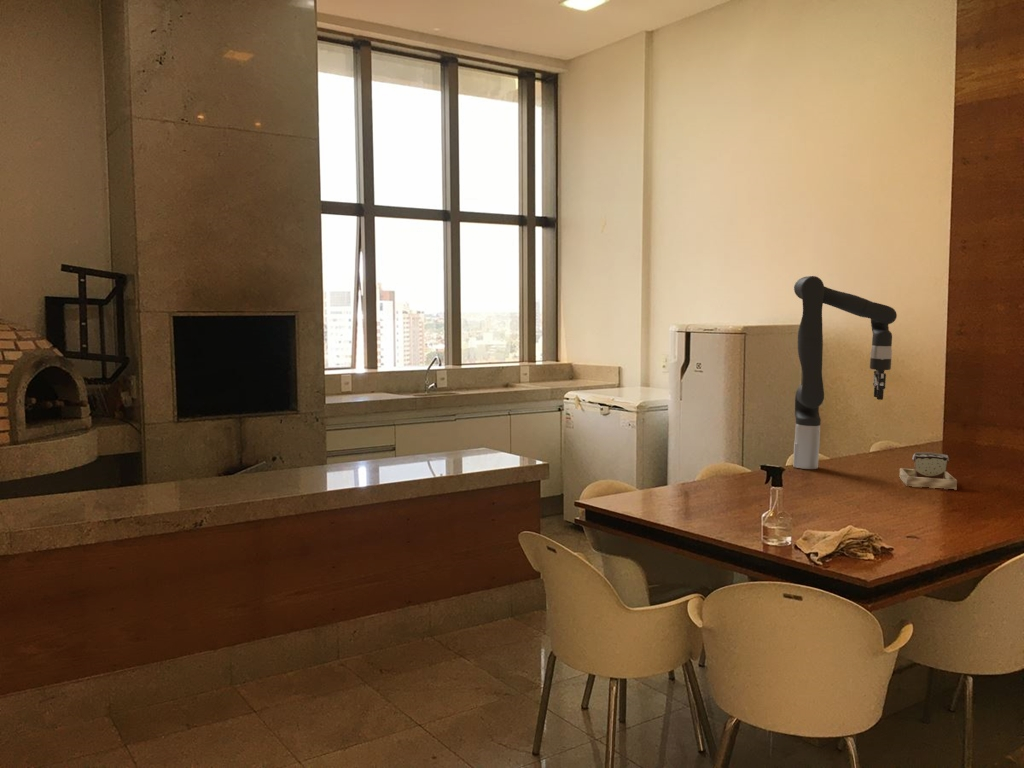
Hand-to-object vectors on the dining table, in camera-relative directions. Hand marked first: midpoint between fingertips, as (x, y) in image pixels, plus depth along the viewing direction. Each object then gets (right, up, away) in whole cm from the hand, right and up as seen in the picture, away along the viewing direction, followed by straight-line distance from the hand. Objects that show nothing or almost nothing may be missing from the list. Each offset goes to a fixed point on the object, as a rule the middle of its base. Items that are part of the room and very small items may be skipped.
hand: (878, 398), depth 319 cm
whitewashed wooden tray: (+7, -31, -23) cm, 39 cm away
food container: (+7, -30, -23) cm, 38 cm away
